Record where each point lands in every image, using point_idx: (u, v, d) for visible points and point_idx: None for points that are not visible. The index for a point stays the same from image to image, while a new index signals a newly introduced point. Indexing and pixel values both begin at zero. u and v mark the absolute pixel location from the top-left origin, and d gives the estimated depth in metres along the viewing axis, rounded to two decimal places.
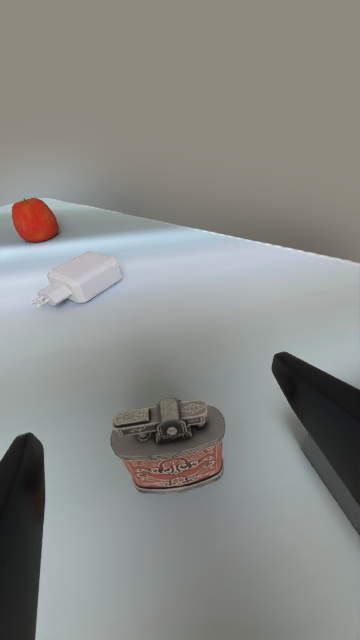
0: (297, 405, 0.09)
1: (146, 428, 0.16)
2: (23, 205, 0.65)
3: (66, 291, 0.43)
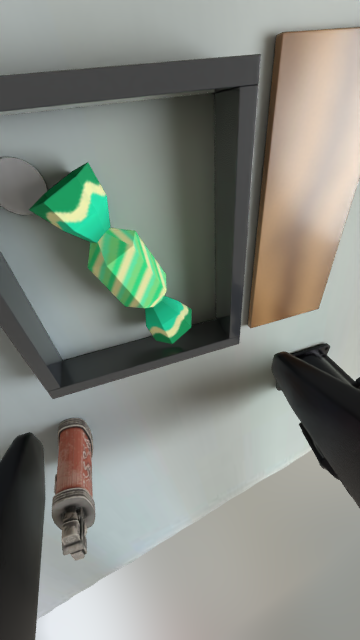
0: (297, 405, 0.09)
1: None
2: None
3: None
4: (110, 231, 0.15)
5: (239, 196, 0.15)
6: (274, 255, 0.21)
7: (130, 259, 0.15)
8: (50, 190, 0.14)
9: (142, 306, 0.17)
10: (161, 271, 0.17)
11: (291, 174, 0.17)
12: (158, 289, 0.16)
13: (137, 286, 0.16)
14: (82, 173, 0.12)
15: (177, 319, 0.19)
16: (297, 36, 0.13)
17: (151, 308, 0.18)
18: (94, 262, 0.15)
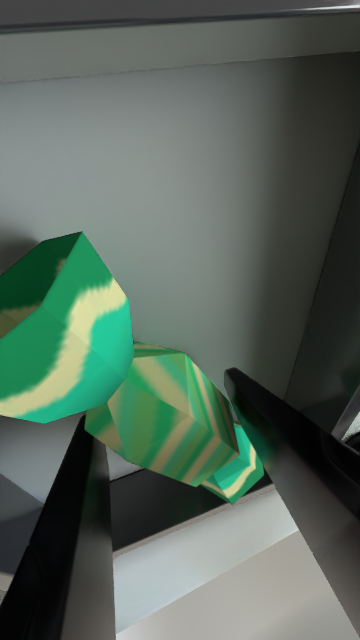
0: (245, 424, 0.09)
1: None
2: None
3: None
4: (135, 372, 0.06)
5: None
6: None
7: (181, 436, 0.06)
8: None
9: (192, 485, 0.08)
10: (225, 405, 0.09)
11: None
12: (226, 457, 0.08)
13: (188, 466, 0.07)
14: (64, 277, 0.04)
15: (244, 471, 0.10)
16: None
17: None
18: (99, 432, 0.07)
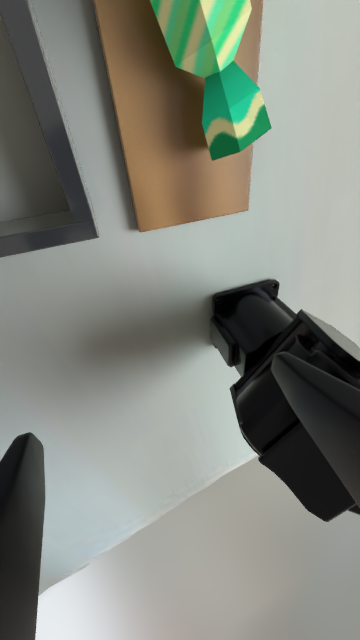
0: (297, 405, 0.09)
1: None
2: None
3: None
4: None
5: None
6: (140, 74, 0.12)
7: None
8: None
9: (209, 35, 0.10)
10: None
11: None
12: None
13: None
14: None
15: (254, 102, 0.12)
16: None
17: (215, 77, 0.12)
18: None
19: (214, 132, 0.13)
